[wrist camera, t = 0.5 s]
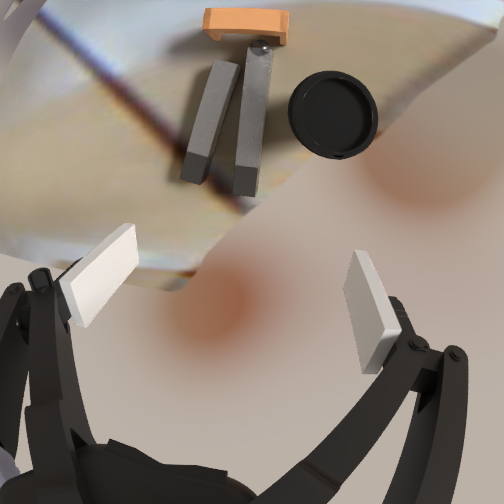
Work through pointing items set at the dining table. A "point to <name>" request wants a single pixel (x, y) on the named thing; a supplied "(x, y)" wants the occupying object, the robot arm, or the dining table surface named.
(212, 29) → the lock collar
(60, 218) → the dining table surface
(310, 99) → the coffee cup
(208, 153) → the tong arm
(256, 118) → the tongs fixed
